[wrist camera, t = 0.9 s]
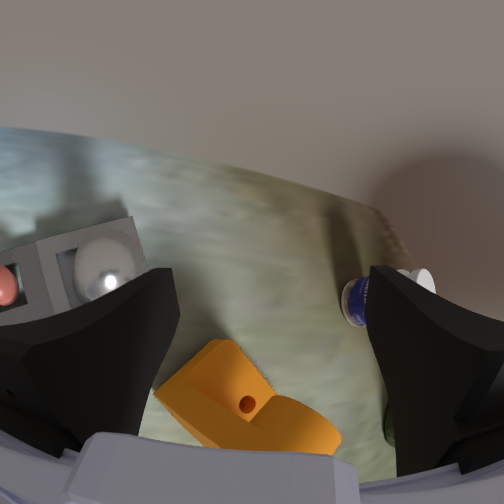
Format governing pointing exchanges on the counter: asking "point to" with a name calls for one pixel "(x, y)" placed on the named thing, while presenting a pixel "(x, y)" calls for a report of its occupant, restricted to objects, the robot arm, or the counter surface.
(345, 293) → the pill bottle
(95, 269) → the steel round bar
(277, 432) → the bracket
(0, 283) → the button
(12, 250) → the socket block
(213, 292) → the counter surface
